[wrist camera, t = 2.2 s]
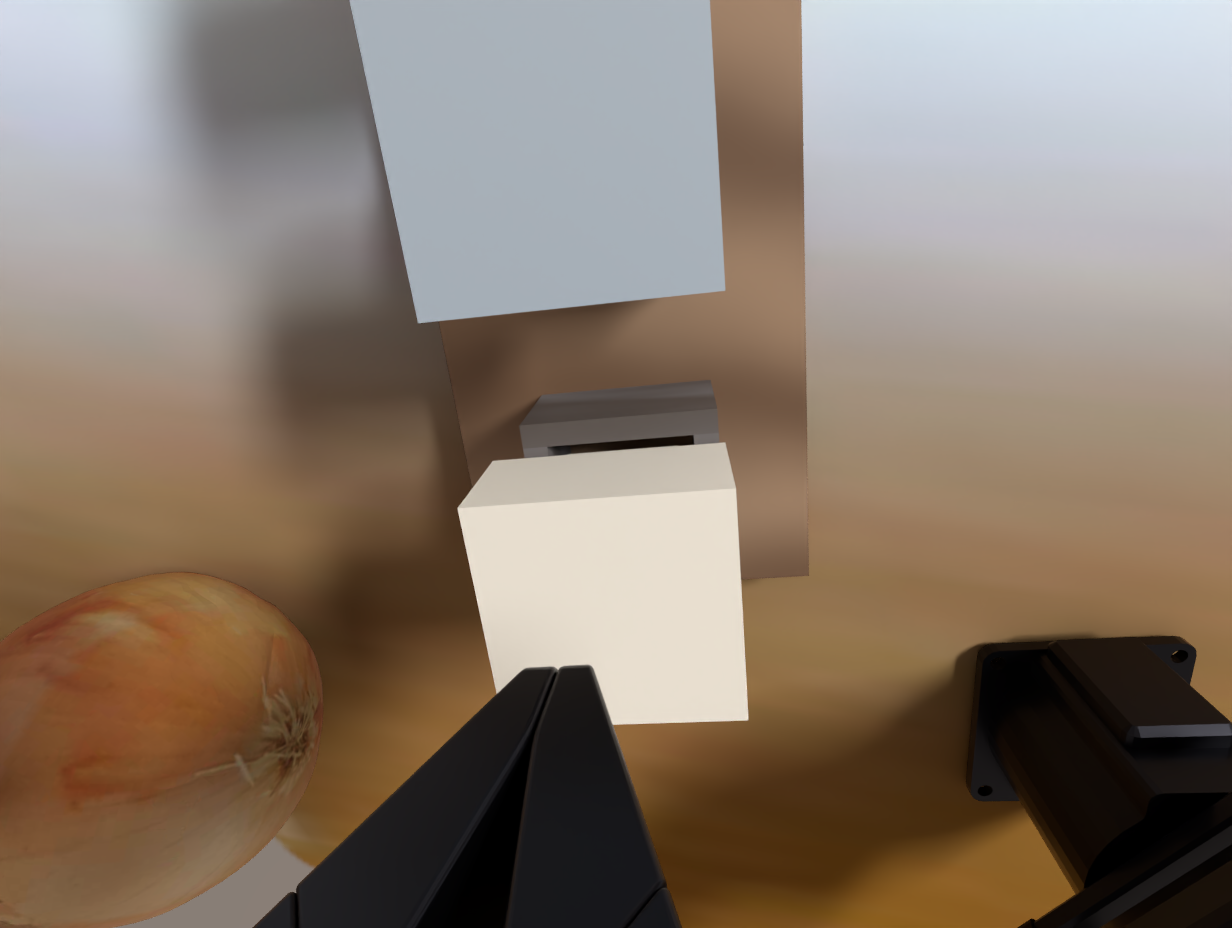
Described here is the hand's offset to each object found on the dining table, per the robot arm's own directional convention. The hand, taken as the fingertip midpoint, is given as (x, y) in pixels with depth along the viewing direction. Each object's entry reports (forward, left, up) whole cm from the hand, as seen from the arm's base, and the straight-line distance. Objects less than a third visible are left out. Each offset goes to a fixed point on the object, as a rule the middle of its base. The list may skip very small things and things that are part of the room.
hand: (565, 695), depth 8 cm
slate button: (+7, 0, -9) cm, 11 cm away
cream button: (-1, 0, -9) cm, 9 cm away
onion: (-8, +15, -13) cm, 22 cm away
